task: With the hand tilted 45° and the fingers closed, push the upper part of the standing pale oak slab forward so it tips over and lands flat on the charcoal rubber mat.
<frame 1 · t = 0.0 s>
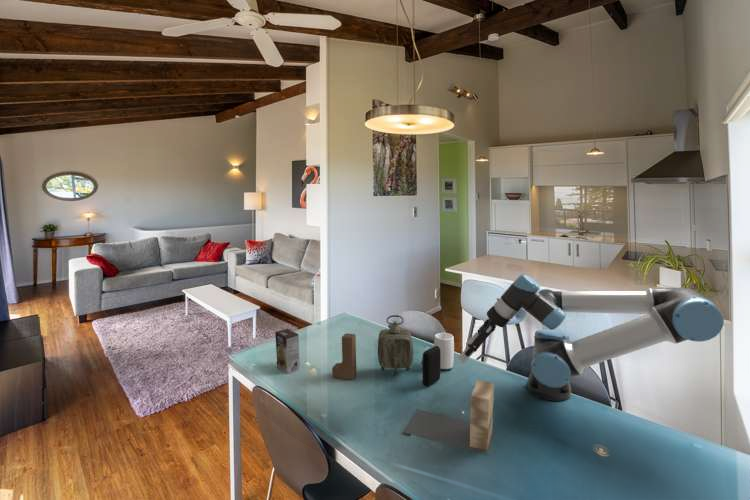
hand: (464, 353, 143), 15 cm above the table, tool tilted 35°, fingers open, 13 cm apart
white oblong lump: (482, 406, 136), on the table
mat: (449, 431, 121), on the table
carrying case or bag: (430, 384, 151), on the table
slab: (481, 438, 117), point 1 cm above the table, touching mat
wooden block: (344, 377, 158), on the table
cup: (443, 368, 165), on the table
tabletop clock: (395, 373, 160), on the table
coffee box: (288, 368, 166), on the table
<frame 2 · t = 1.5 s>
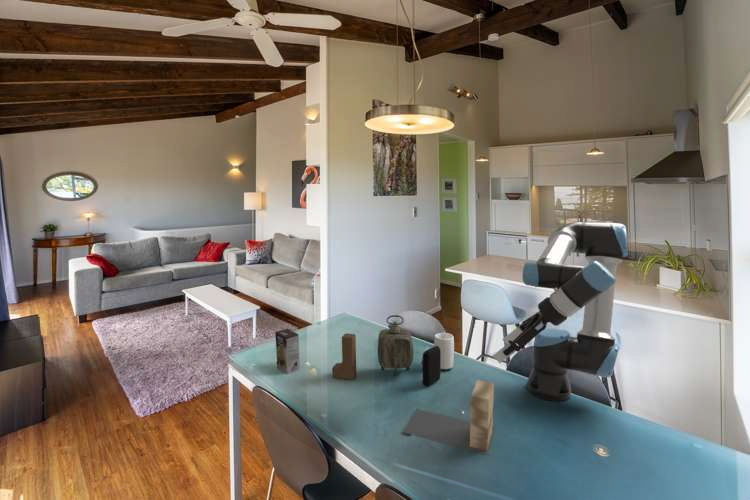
hand: (501, 350, 115), 28 cm above the table, tool tilted 45°, fingers open, 13 cm apart
nothing on the table moved.
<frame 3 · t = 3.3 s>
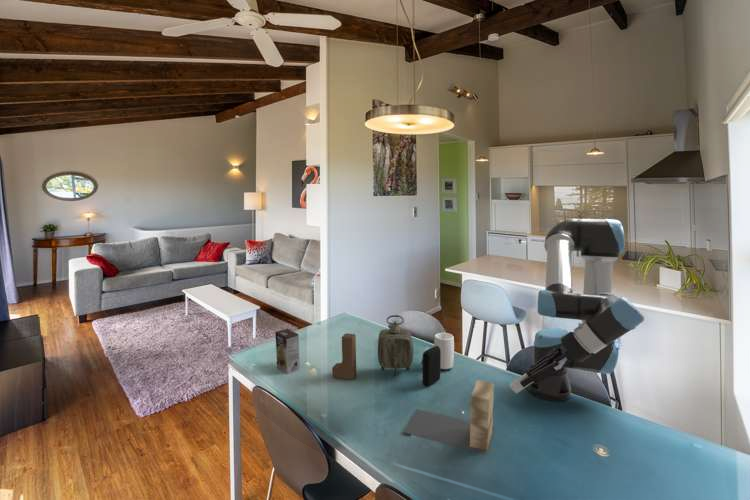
hand: (513, 388, 111), 18 cm above the table, tool tilted 45°, fingers closed
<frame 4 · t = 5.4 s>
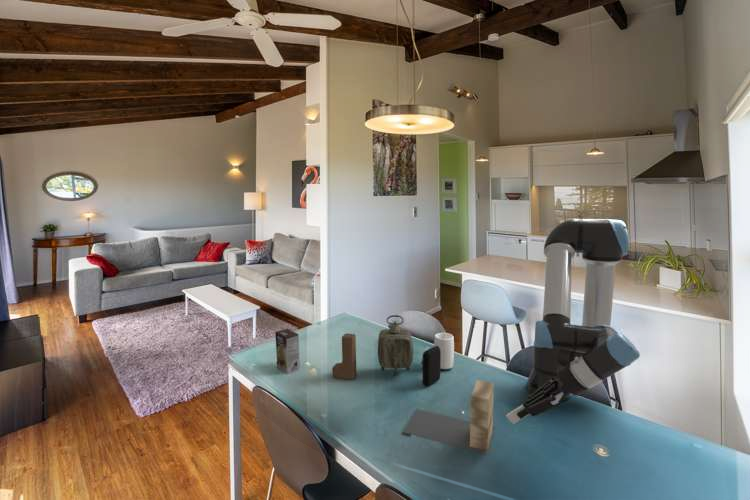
hand: (510, 419, 112), 9 cm above the table, tool tilted 45°, fingers closed
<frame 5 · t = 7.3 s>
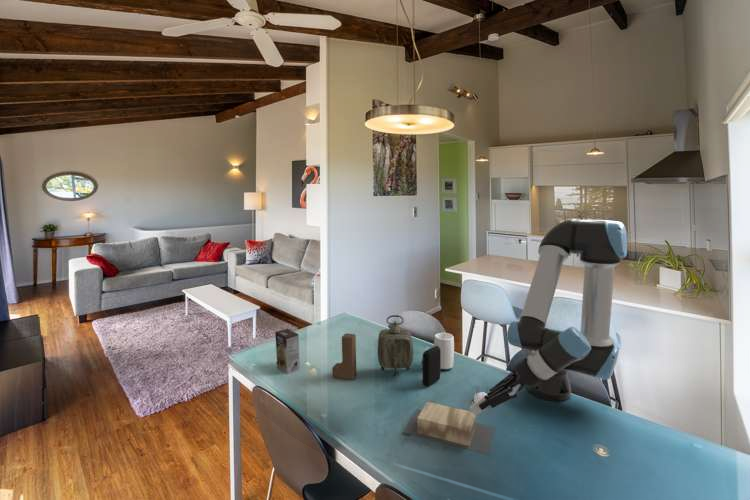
hand: (472, 410, 116), 9 cm above the table, tool tilted 45°, fingers closed
slab: (472, 428, 117), point 3 cm above the table, tilted 90°, touching mat
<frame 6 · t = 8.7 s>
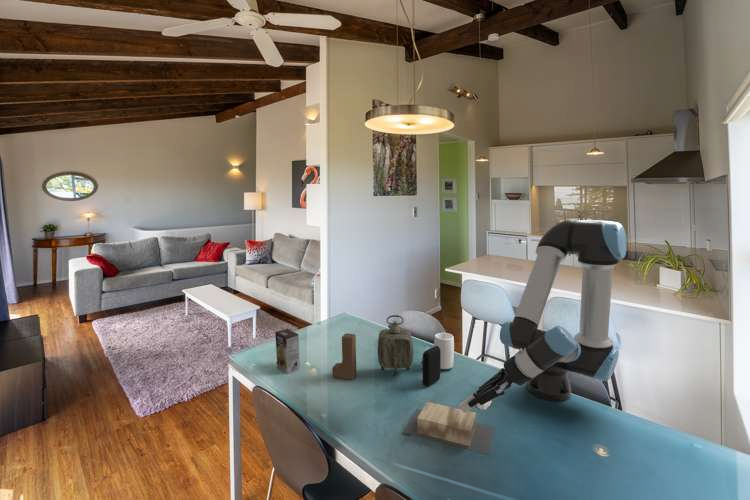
hand: (462, 408, 118), 9 cm above the table, tool tilted 45°, fingers closed
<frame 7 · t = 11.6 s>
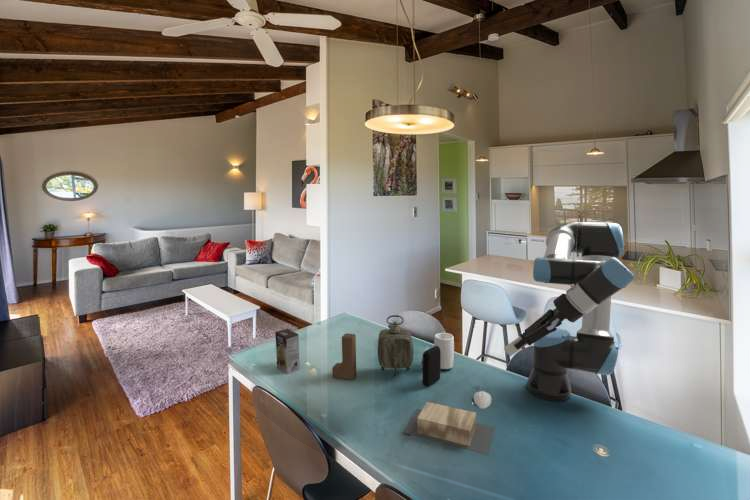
hand: (507, 351, 114), 28 cm above the table, tool tilted 45°, fingers closed
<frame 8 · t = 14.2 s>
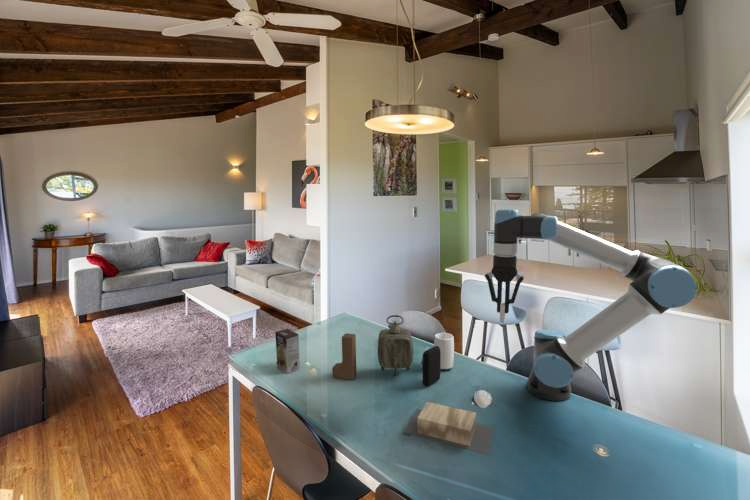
hand: (502, 321, 135), 29 cm above the table, tool pointing down, fingers closed
at the end: slab tilted 90°; slab inside the target area (6.9 cm from its centre), point 3.1 cm above the table; slab touching mat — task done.
